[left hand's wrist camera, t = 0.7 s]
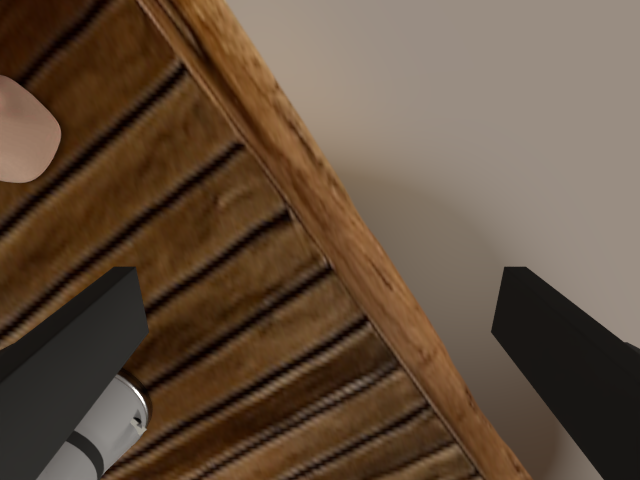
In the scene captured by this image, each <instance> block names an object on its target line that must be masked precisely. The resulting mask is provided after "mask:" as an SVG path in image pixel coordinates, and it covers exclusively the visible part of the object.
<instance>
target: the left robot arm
mask: <svg viewBox="0 0 640 480" xmlns="http://www.w3.org/2000/svg"><path fill="white" fill-rule="evenodd" d="M148 333H149V330H148V325H147V320H146V315H145V310H144V305H143V300H142V296H141V291H140V286H139V281H138V276H137V271H136V267H113V268H112V269H111V270H109V271H108V272H107V273H105V274H104V275H103V276H101V277H100V278H99V279H98V280H96V281H95V282H94V283H92V284H91V285H90V286H88V287H87V288H86V289H85V290H83V291H82V292H81V293H79V294H78V295H77V296H75V297H74V298H73V299H72V300H70V301H69V302H68V303H66V304H65V305H64V306H62V307H61V308H60V309H59V310H57V311H56V312H55V313H53V314H52V315H51V316H49V317H48V318H47V319H46V320H44V321H43V322H42V323H40V324H39V325H38V326H36V327H35V328H34V329H33V330H31V331H30V332H29V333H27V334H26V335H25V336H23V337H22V338H21V339H20V340H18V341H17V342H16V343H14V344H12V345H10V346H8V347H6V348H4V349H2V350H0V480H100V479H101V477H102V475H103V474H104V472H105V471H106V470H107V469H108V468H109V467H110V466H112V465H113V464H114V463H115V462H116V461H117V460H118V459H119V458H120V457H121V456H122V455H123V454H124V453H125V452H126V451H127V450H128V449H129V448H130V447H131V446H132V445H134V444H135V443H136V442H137V441H138V440H139V439H140V437H141V436H142V435H143V433H144V432H145V431H146V430H147V429H146V427H147V426H148V424H149V422H150V420H151V416H152V402H151V399H150V396H149V394H148V392H147V390H146V389H145V387H144V386H143V385H142V384H141V382H140V381H139V380H138V379H137V378H136V377H134V376H133V375H132V374H131V373H129V372H128V371H126V370H125V369H123V368H122V367H123V365H124V364H125V363H126V361H127V360H128V359H129V358H130V356H131V355H132V354H133V352H134V351H135V350H136V348H137V347H138V346H139V344H140V343H141V342H142V341H143V339H144V338H145V337H146V335H147V334H148ZM491 333H492V334H493V335H494V337H495V338H496V339H497V341H498V342H499V343H500V344H501V346H502V347H503V348H504V350H505V351H506V352H507V354H508V355H509V356H510V357H511V359H512V360H513V361H514V363H515V364H516V365H517V367H518V368H519V369H520V371H521V372H522V373H523V375H524V376H525V377H526V378H527V380H528V381H529V382H530V384H531V385H532V386H533V388H534V389H535V390H536V392H537V393H538V394H539V395H540V397H541V398H542V399H543V401H544V402H545V403H546V405H547V406H548V407H549V409H550V410H551V411H552V412H553V414H554V415H555V416H556V418H557V419H558V420H559V422H560V423H561V424H562V426H563V427H564V428H565V429H566V431H567V432H568V433H569V435H570V436H571V437H572V439H573V440H574V441H575V443H576V444H577V445H578V446H579V448H580V449H581V450H582V452H583V453H584V454H585V456H586V457H587V458H588V460H589V461H590V462H591V464H592V465H593V466H594V467H595V469H596V470H597V471H598V473H599V474H600V475H601V477H602V478H603V479H604V480H640V349H639V348H637V347H635V346H633V345H631V344H629V343H627V342H623V341H622V340H620V339H619V338H618V337H617V336H615V335H614V334H612V333H611V332H610V331H609V330H607V329H606V328H605V327H604V326H602V325H601V324H600V323H598V322H597V321H596V320H594V319H593V318H592V317H591V316H589V315H588V314H587V313H585V312H584V311H583V310H581V309H580V308H579V307H578V306H576V305H575V304H574V303H572V302H571V301H570V300H568V299H567V298H566V297H565V296H563V295H562V294H561V293H559V292H558V291H557V290H555V289H554V288H553V287H552V286H550V285H549V284H548V283H546V282H545V281H544V280H542V279H541V278H540V277H539V276H537V275H536V274H535V273H533V272H532V271H531V270H529V269H528V268H527V267H504V271H503V276H502V281H501V286H500V291H499V296H498V301H497V305H496V310H495V315H494V320H493V325H492V330H491Z"/></svg>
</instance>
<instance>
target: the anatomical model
mask: <svg viewBox="0 0 640 480" xmlns="http://www.w3.org/2000/svg"><path fill="white" fill-rule="evenodd" d="M60 139H61V130H60V126H59V124H58V122H57V121H56V119H55V118H54V117H53V115H52V114H51V113H50V112H49V111H48V110H47V109H46V108H45V107H44V106H43V105H42V104H41V103H40V102H39V101H38V100H37V99H36V98H35V97H34V96H33V95H32V94H30V93H29V92H28V91H27V90H25V89H24V88H23V87H21V86H20V85H19V84H18V83H16V82H15V81H13V80H12V79H10V78H8V77H6V76H3V75H0V180H1V181H6V182H15V183H24V182H28V181H32V180H34V179H36V178H37V177H38V176H40V175H41V174H42V173H43V172H44V171H45V169H46V168H47V167H48V165H49V164H50V162H51V161H52V159H53V157H54V155H55V153H56V151H57V149H58V146H59V143H60Z"/></svg>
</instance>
